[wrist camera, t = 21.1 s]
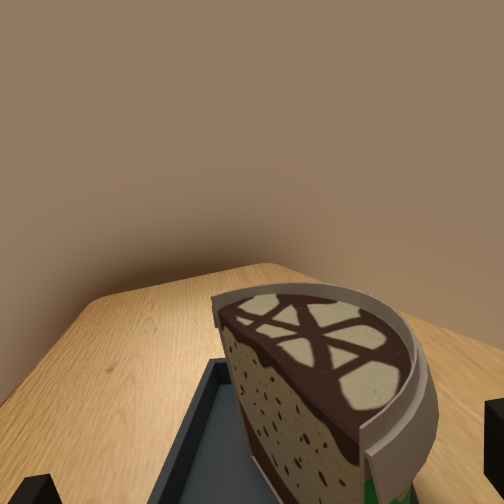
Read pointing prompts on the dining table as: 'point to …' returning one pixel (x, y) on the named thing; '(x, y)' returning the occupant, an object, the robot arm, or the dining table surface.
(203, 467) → the tray
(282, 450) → the food container
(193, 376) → the dining table surface
